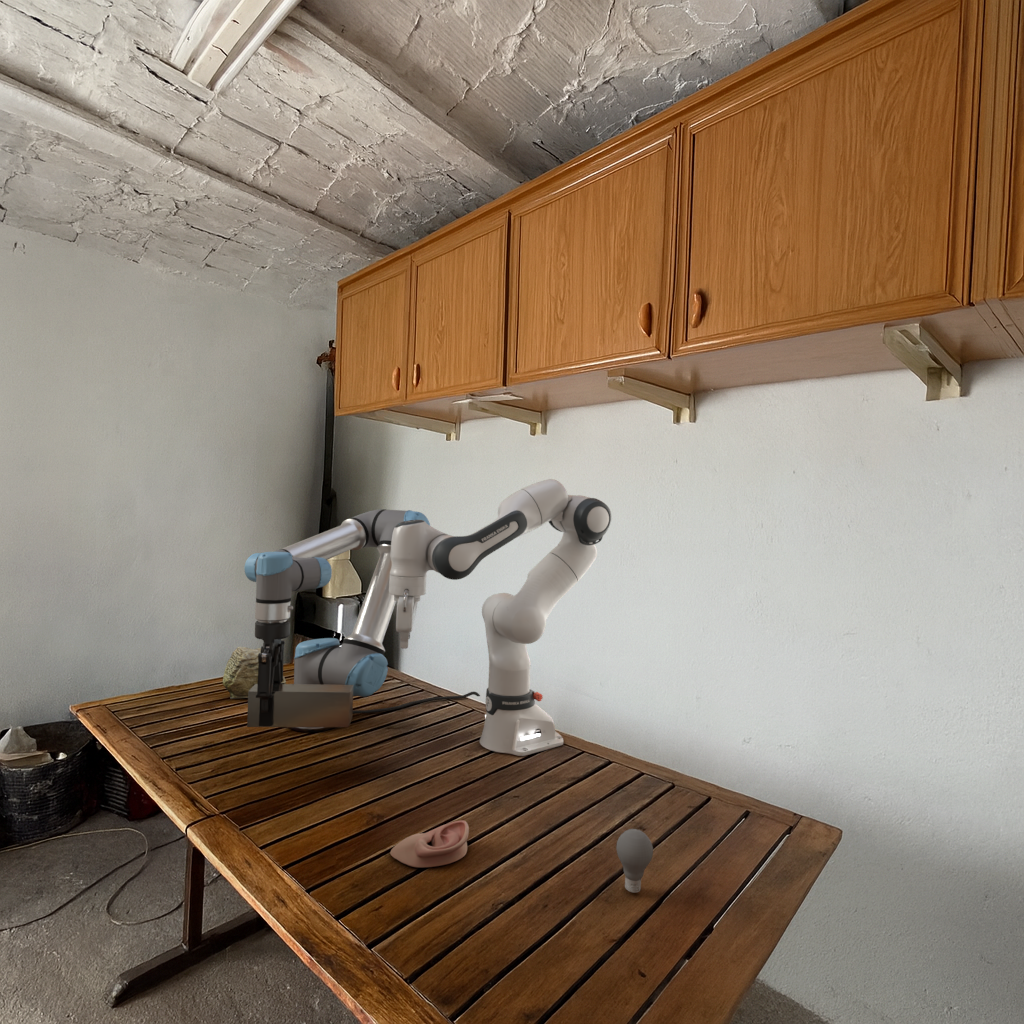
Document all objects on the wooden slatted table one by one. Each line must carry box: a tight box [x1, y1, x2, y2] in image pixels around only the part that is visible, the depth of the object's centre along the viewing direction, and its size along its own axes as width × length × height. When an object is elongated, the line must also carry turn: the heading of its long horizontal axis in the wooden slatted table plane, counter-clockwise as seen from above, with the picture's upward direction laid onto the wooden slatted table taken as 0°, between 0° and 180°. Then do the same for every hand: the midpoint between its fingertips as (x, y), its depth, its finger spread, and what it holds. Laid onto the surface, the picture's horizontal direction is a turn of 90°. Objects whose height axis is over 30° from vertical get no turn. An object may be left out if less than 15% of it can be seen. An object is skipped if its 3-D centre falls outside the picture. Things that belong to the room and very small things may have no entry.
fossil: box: [222, 646, 287, 699], centre depth 198 cm, size 9×18×15 cm, turn 132°
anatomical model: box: [389, 819, 470, 869], centre depth 115 cm, size 13×4×12 cm
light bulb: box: [615, 828, 654, 894], centre depth 106 cm, size 6×6×10 cm
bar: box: [246, 683, 354, 728], centre depth 146 cm, size 22×6×8 cm, turn 96°
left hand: (269, 720), depth 145 cm, fingers closed on bar, 6 cm apart
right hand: (405, 643), depth 154 cm, fingers open, 8 cm apart
